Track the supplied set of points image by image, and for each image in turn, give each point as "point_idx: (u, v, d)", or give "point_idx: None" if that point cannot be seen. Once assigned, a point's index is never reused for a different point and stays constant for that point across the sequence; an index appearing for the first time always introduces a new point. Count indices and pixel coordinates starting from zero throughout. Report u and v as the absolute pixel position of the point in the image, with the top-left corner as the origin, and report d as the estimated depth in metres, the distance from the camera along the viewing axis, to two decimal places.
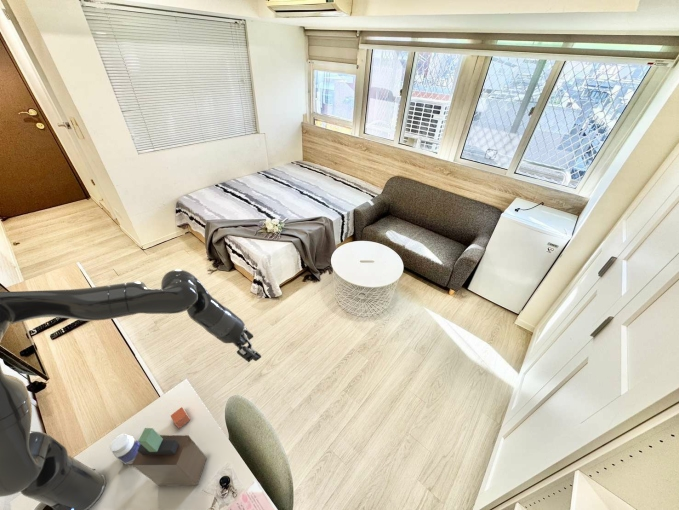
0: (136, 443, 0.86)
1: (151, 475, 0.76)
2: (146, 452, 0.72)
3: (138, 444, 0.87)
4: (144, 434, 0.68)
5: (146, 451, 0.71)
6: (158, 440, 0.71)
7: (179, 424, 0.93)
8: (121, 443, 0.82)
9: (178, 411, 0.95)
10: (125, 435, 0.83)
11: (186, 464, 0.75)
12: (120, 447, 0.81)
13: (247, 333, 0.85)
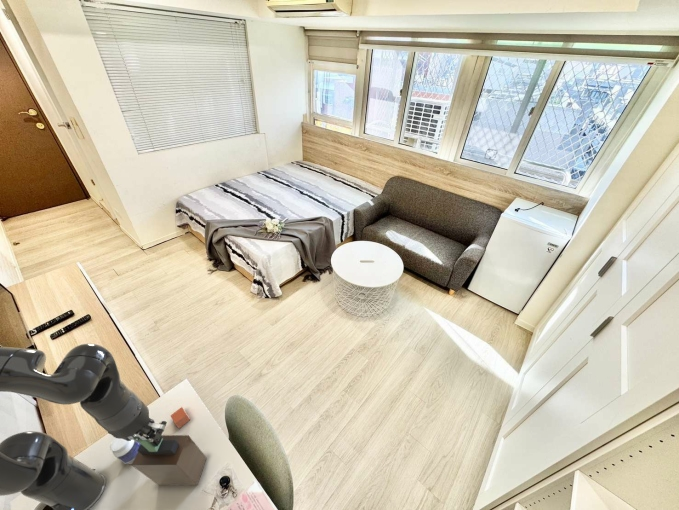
0: (136, 443, 0.86)
1: (151, 475, 0.76)
2: (146, 452, 0.72)
3: (138, 444, 0.87)
4: None
5: (146, 451, 0.71)
6: None
7: (179, 424, 0.93)
8: (121, 443, 0.82)
9: (178, 411, 0.95)
10: None
11: (186, 464, 0.75)
12: (120, 447, 0.81)
13: None
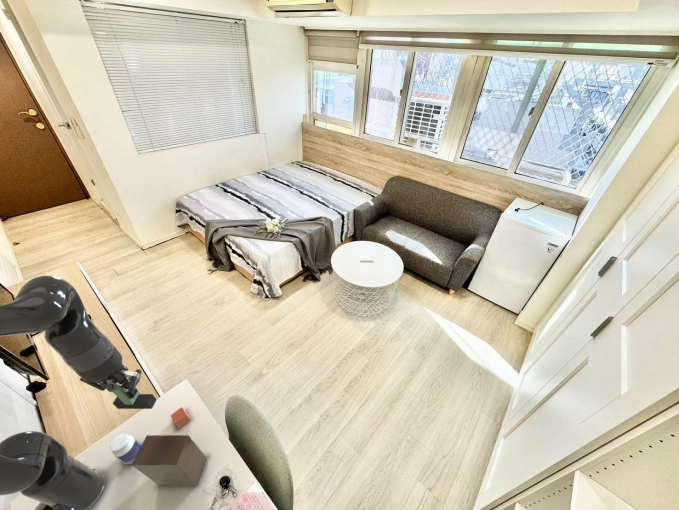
0: (136, 443, 0.86)
1: (151, 475, 0.76)
2: (122, 405, 0.69)
3: (138, 444, 0.87)
4: None
5: (122, 404, 0.69)
6: None
7: (179, 424, 0.93)
8: (121, 443, 0.82)
9: (178, 411, 0.95)
10: (125, 435, 0.83)
11: (186, 464, 0.75)
12: (120, 447, 0.81)
13: None
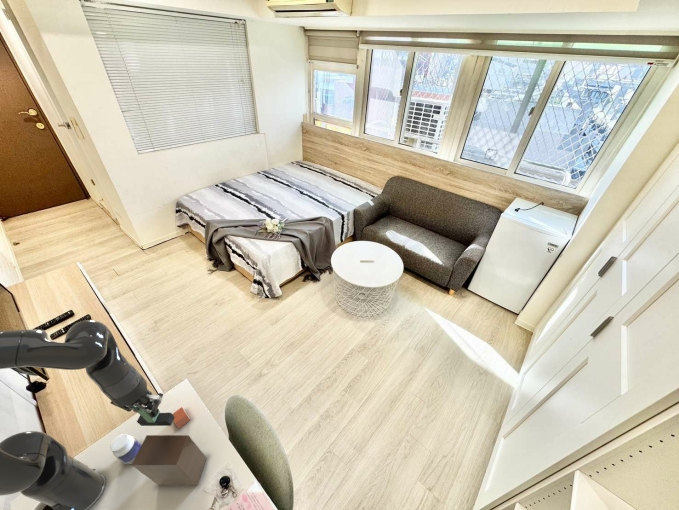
0: (136, 443, 0.86)
1: (151, 475, 0.76)
2: (145, 423, 0.79)
3: (138, 444, 0.87)
4: None
5: (145, 422, 0.78)
6: None
7: (179, 424, 0.93)
8: (121, 443, 0.82)
9: (178, 411, 0.95)
10: (125, 435, 0.83)
11: (186, 464, 0.75)
12: (120, 447, 0.81)
13: None
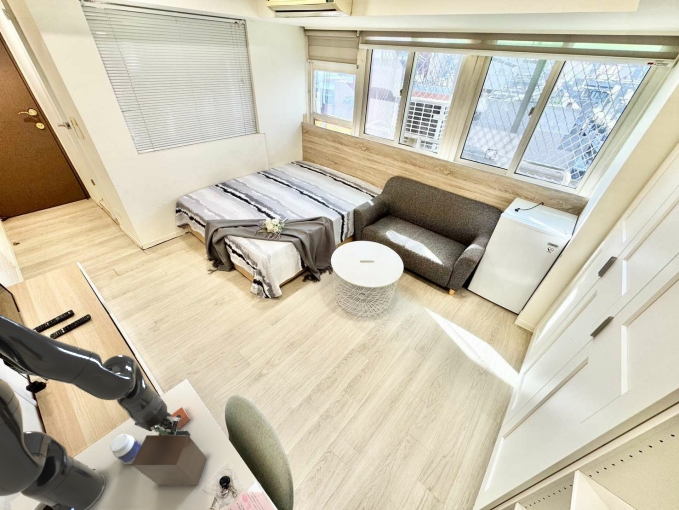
0: (136, 443, 0.86)
1: (151, 475, 0.76)
2: None
3: (138, 444, 0.87)
4: None
5: None
6: None
7: (179, 424, 0.93)
8: (121, 443, 0.82)
9: (178, 411, 0.95)
10: (125, 435, 0.83)
11: (186, 464, 0.75)
12: (120, 447, 0.81)
13: None
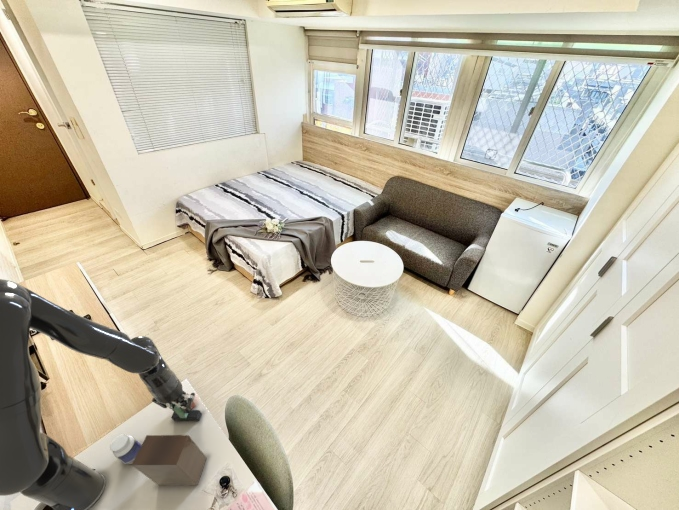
0: (136, 443, 0.86)
1: (151, 475, 0.76)
2: (177, 419, 0.95)
3: (138, 444, 0.87)
4: None
5: (178, 417, 0.94)
6: None
7: None
8: (121, 443, 0.82)
9: None
10: (125, 435, 0.83)
11: (186, 464, 0.75)
12: (120, 447, 0.81)
13: None
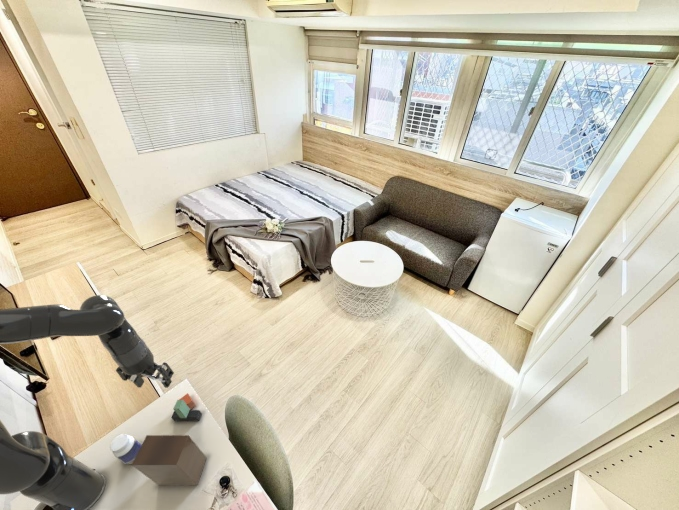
0: (136, 443, 0.86)
1: (151, 475, 0.76)
2: (177, 419, 0.95)
3: (138, 444, 0.87)
4: (177, 404, 0.91)
5: (178, 417, 0.94)
6: (187, 409, 0.94)
7: None
8: (121, 443, 0.82)
9: (184, 397, 0.99)
10: (125, 435, 0.83)
11: (186, 464, 0.75)
12: (120, 447, 0.81)
13: (139, 377, 0.83)
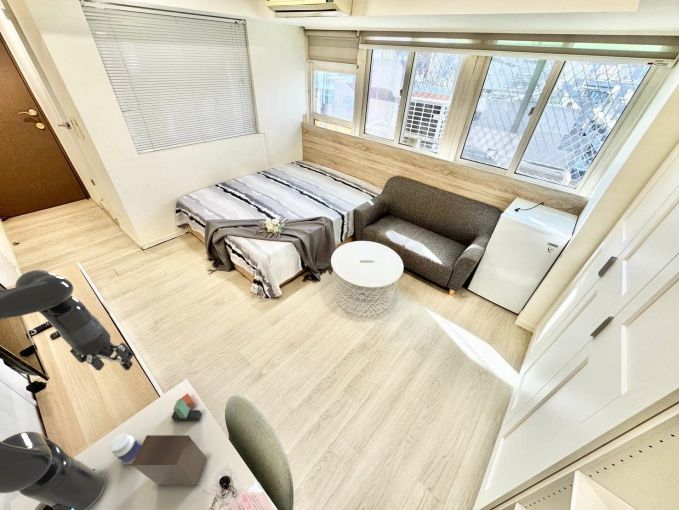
0: (136, 443, 0.86)
1: (151, 475, 0.76)
2: (177, 419, 0.95)
3: (138, 444, 0.87)
4: (177, 404, 0.91)
5: (178, 417, 0.94)
6: (187, 409, 0.94)
7: None
8: (121, 443, 0.82)
9: (184, 397, 0.99)
10: (125, 435, 0.83)
11: (186, 464, 0.75)
12: (120, 447, 0.81)
13: (98, 359, 0.79)
